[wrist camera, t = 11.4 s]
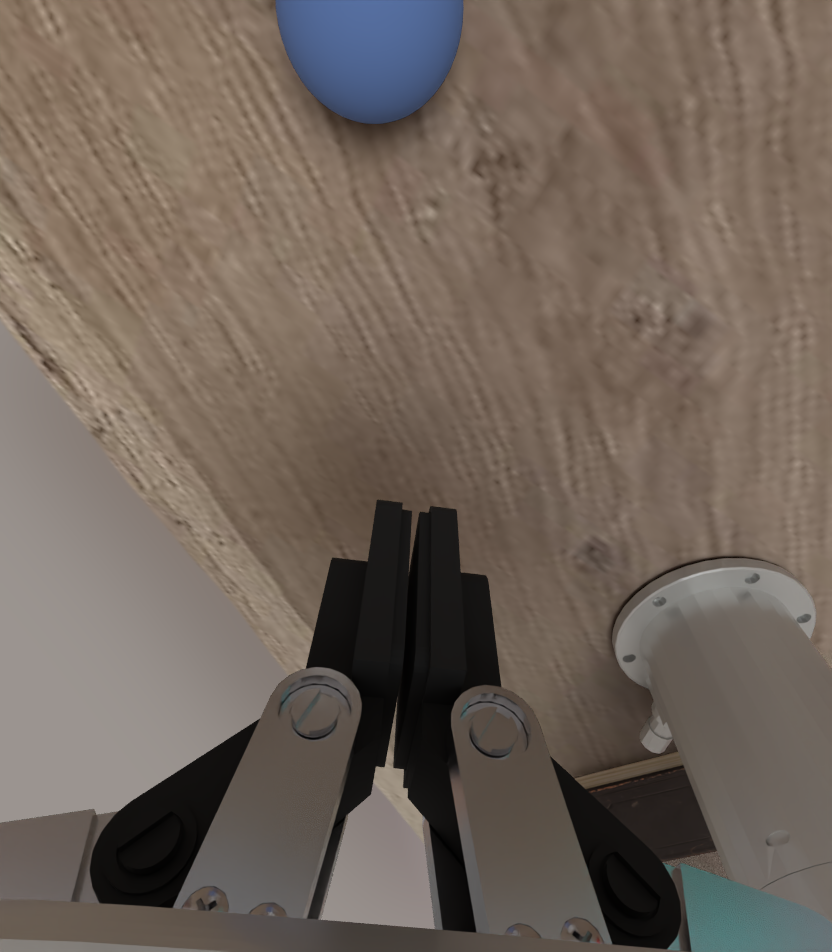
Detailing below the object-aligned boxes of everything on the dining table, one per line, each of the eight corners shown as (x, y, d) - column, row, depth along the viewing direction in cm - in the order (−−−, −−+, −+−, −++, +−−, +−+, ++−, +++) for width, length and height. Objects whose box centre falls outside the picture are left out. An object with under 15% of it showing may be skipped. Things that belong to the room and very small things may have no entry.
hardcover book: (562, 770, 48) (567, 797, 46) (844, 697, 42) (864, 725, 40) (619, 846, 56) (626, 872, 54) (867, 793, 49) (885, 821, 47)
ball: (471, -190, 15) (511, 64, 19) (320, -114, 18) (383, 87, 23) (346, -119, 13) (424, 151, 17) (198, -48, 16) (296, 163, 20)
